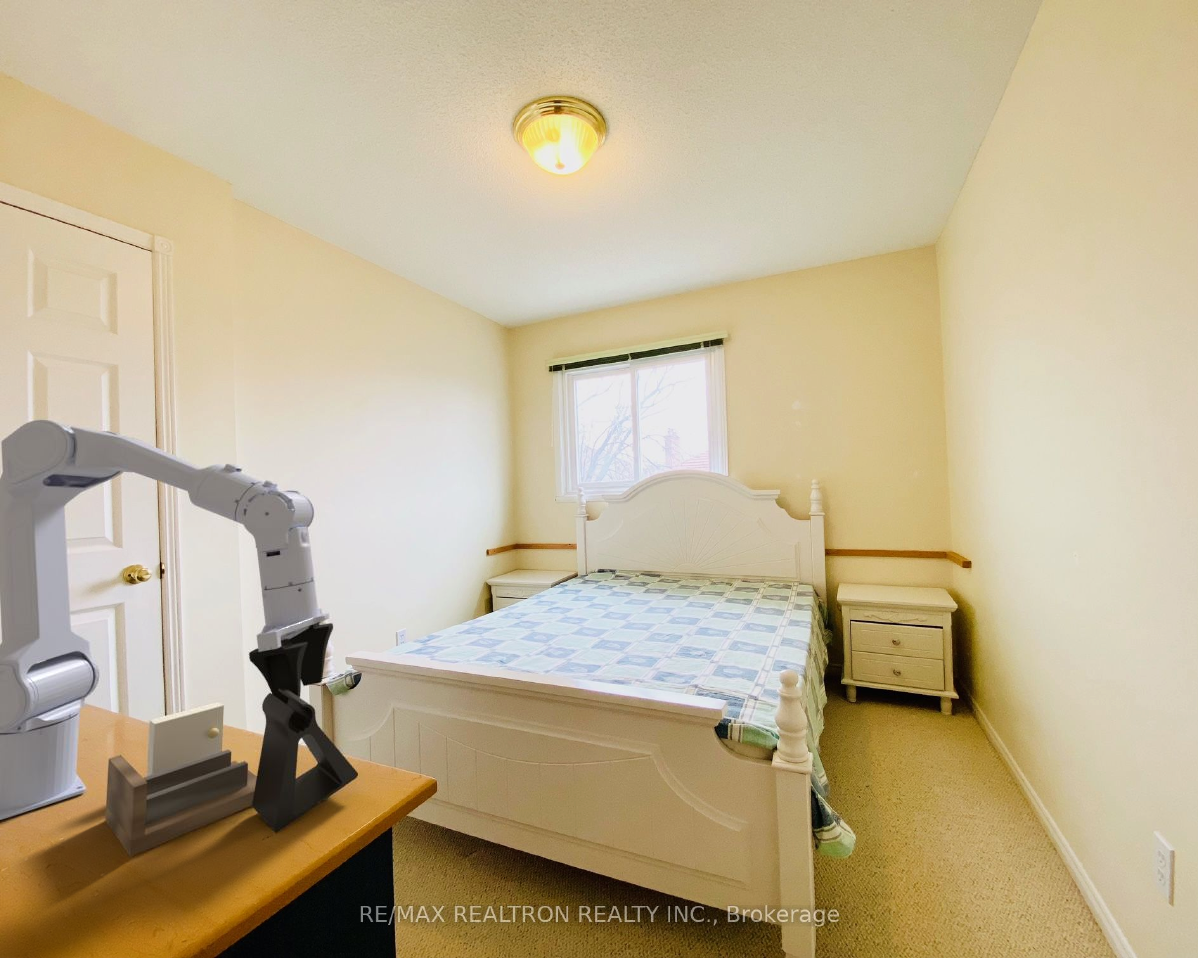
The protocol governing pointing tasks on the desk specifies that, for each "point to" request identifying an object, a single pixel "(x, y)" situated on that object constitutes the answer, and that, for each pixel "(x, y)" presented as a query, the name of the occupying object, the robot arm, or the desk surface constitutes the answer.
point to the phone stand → (295, 763)
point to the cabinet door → (184, 737)
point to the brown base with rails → (174, 798)
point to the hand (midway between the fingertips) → (301, 693)
